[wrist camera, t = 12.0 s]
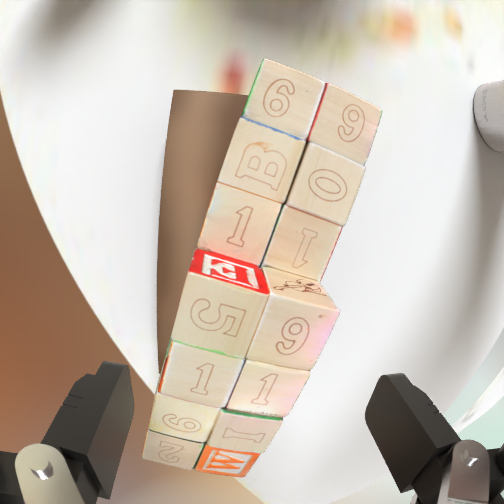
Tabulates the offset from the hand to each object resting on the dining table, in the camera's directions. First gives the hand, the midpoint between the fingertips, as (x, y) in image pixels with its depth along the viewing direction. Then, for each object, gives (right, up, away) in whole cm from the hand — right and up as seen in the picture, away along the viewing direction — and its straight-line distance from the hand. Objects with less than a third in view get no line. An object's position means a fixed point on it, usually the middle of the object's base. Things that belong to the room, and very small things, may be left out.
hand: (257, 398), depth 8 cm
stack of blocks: (-1, +5, +15) cm, 15 cm away
